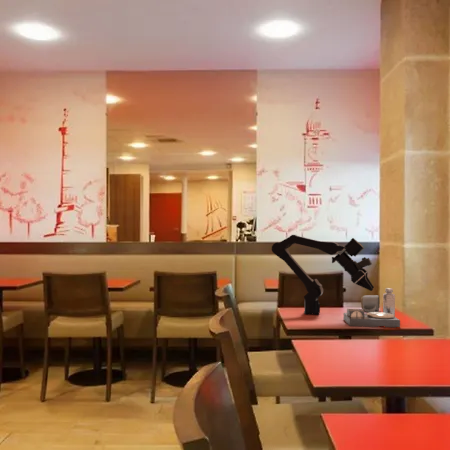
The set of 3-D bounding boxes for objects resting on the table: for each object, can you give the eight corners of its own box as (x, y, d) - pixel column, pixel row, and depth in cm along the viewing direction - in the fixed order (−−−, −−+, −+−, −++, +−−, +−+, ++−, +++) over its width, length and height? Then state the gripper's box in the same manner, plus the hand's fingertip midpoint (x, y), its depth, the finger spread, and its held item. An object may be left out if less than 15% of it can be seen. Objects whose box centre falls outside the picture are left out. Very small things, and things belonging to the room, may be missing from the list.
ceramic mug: (362, 308, 252) (362, 293, 252) (379, 310, 249) (379, 294, 249) (359, 312, 242) (360, 296, 242) (377, 313, 239) (377, 297, 239)
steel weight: (384, 319, 220) (384, 289, 220) (381, 317, 225) (382, 287, 225) (396, 320, 220) (396, 289, 220) (393, 318, 225) (393, 288, 225)
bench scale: (349, 326, 204) (349, 312, 204) (343, 319, 219) (343, 306, 219) (400, 327, 203) (400, 313, 203) (390, 321, 218) (390, 308, 218)
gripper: (359, 252, 218) (385, 278, 214) (362, 250, 236) (386, 275, 232) (340, 269, 221) (366, 296, 217) (344, 267, 238) (368, 291, 235)
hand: (372, 289), depth 225 cm, fingers open, 9 cm apart
